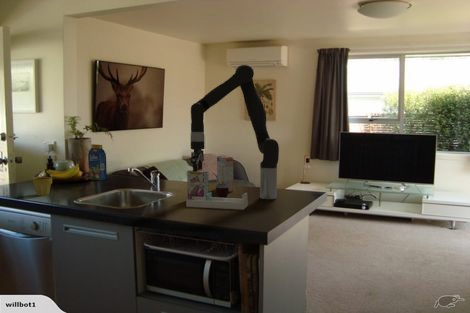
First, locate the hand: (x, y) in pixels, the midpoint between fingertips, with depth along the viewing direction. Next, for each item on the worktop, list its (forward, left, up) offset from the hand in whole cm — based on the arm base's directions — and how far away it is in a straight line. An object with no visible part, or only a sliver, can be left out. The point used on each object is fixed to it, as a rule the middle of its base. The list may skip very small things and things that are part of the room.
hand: (197, 170), depth 241 cm
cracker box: (-34, +6, -17) cm, 39 cm away
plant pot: (+4, -94, -17) cm, 96 cm away
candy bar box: (0, 0, -17) cm, 17 cm away
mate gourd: (-8, +11, -17) cm, 22 cm away
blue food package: (-54, -93, -17) cm, 109 cm away
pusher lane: (+11, +14, -17) cm, 24 cm away
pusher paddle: (+11, +14, -15) cm, 23 cm away
